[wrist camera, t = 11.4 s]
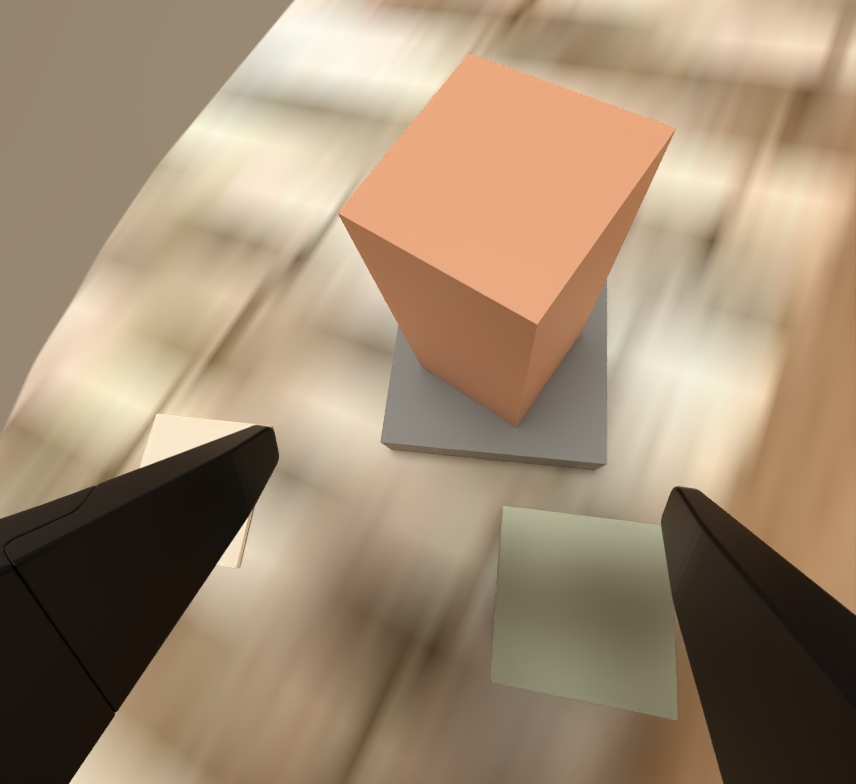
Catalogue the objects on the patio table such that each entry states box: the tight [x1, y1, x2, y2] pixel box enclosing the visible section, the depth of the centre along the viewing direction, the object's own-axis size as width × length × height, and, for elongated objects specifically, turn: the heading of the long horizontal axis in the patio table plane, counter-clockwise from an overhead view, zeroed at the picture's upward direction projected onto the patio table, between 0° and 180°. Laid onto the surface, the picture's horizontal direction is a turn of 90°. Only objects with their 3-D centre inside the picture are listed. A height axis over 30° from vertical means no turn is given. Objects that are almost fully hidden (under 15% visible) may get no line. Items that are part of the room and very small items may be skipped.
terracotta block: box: [338, 54, 676, 427], centre depth 16 cm, size 6×6×12 cm
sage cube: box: [490, 506, 678, 721], centre depth 18 cm, size 6×6×6 cm
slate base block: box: [381, 279, 607, 470], centre depth 23 cm, size 11×11×3 cm
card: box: [139, 414, 273, 568], centre depth 25 cm, size 8×8×1 cm
